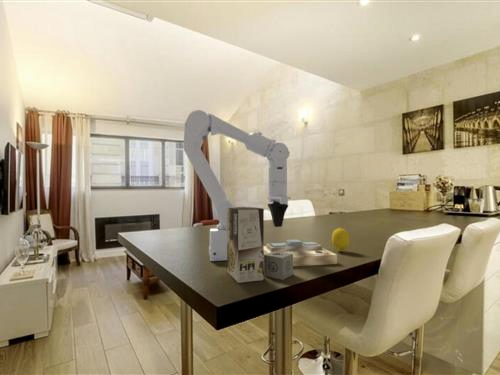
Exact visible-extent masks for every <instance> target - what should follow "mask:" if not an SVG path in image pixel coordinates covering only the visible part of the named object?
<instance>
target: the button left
mask: <svg viewBox="0 0 500 375" xmlns="http://www.w3.org/2000/svg"><path fill="white" fill-rule="evenodd" d="M283 243H284V242H278V243H277V242H272V243H271V242H270V244H271V246H272V247H286V245H284V244H283Z"/></svg>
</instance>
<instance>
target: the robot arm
mask: <svg viewBox="0 0 500 375" xmlns="http://www.w3.org/2000/svg"><path fill="white" fill-rule="evenodd" d="M209 134H210V136H211V137H212V136H216V135H217V136H218V135H223V136H225V137H227V138H230V139H232V140H235V141H237V142H239V143H242V144H244V146H245V149H246V150H248V151H250V152H251V153H254V154H256V155H259V156H260V157H263V158H266V159H267V161H268V197H267V199H268V201H269V203H268V204H267V207H268V208H269V211H270V213H271V219H272V223H273V227H276V228H280V227H283V223H284V217H285V214H286V212H287V209H288V207H289V200H291V199H292V197H291V196H288V166H287V165H288V162H287V160H288V159H289V157H290V153H291V151H289V148H288V146H287V145H286V144H285V143H283V142H276V141H277V140H276V139H274V138H273V139H270V138H268V137H266V136H264V135H263V133H262V132H260V131H257V132H255V131H254V132H251V133H249V132H246V131H244V130H242V129H240V128H239V127H237V126H235V125H232V124H230V123H229V122H227V121H225V120H223V119H221V118H220V117H218V116H216V115H214V114H211V113H207V112H206V111H203V110H200V109H196V110H193V111H192V112H190V113H189V115H188V116H187V118H186V120H185V122H184V135H183V143H182V144H183V145H182V147H183V151H184V152H185V155H186V156H187V159H188V160H189V162H190V164H191V166H192V167H193V169H194V171H195V174H196V175H197V176H198V178H199V180H200V181H201V184H202V185H203V188H204V189H205V191H206V193H207V194H208V197H209V198H210V200H211V202H212V204H213V206H214V208H215V209H216V211H217V218H218V224H217V225H216V227H215V228H212V227H211V228H210V229H209V246H208V254H209V261H211V262H216V261H217V262H218V261H219V262H221V261H227V208H235V207H236V206H233V204H232V203H231V201H230V200H229V198H228V196H227V195H226V193H225V191H224V190H223V188H222V185H221V183H220V182H219V180H218V178H217V176H216V174H215V173H214V171H213V168H212V167H211V165H210V164H209V162H208V160H207V158H206V157H205V154H204V152H203V150H202V149H201V148H202V146H203V143H204V140H205V139H206V138H207V137H208V136H209Z"/></svg>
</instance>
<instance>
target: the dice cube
mask: <svg viewBox="0 0 500 375" xmlns="http://www.w3.org/2000/svg"><path fill="white" fill-rule="evenodd" d="M293 275H294V266H293V254H291V253H285V252H278V251H274V252H271V253H268V254H265V255H264V277H266V278H267V277H268V278H273V279H276V280H281V281H283V280H286V279H287V278H289V277H292V276H293Z"/></svg>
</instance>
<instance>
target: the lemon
mask: <svg viewBox="0 0 500 375" xmlns="http://www.w3.org/2000/svg"><path fill="white" fill-rule="evenodd" d="M331 243H332V246H333V247H334V248H335V249H336V250H338V251H339V252H340V253H341V252H343V251H344V250H346V249H347V248H348V247H349V245H350V235H349V232H348V231H347V230H346V229H345V228H343V227H338V228H336V229H334V230H333V232H332V235H331Z"/></svg>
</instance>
